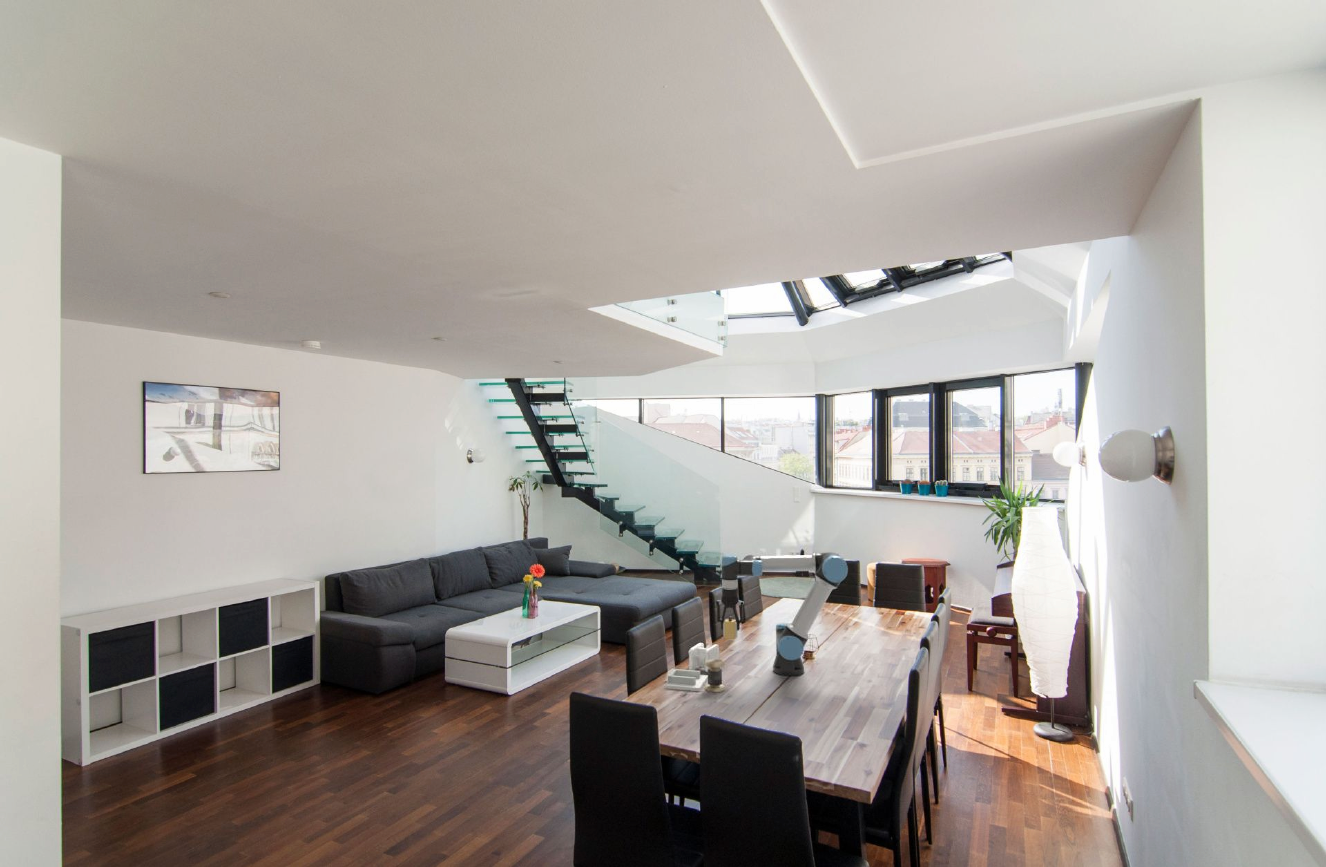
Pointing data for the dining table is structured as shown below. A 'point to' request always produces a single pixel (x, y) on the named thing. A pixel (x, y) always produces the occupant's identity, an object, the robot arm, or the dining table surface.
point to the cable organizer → (702, 656)
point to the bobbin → (714, 676)
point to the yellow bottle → (729, 628)
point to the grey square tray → (686, 680)
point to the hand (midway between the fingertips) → (730, 636)
